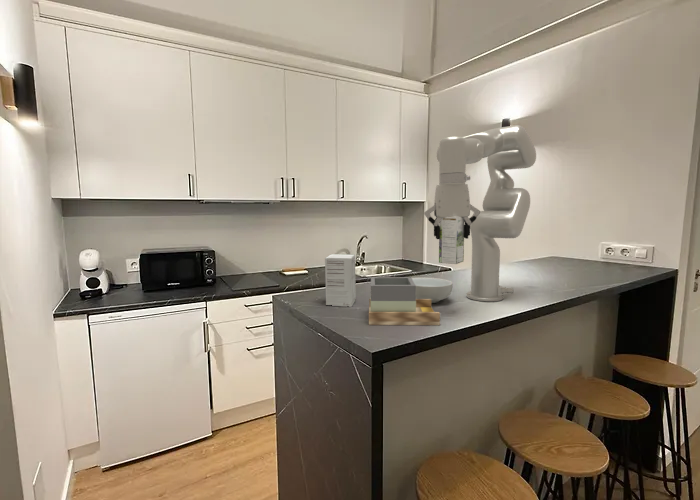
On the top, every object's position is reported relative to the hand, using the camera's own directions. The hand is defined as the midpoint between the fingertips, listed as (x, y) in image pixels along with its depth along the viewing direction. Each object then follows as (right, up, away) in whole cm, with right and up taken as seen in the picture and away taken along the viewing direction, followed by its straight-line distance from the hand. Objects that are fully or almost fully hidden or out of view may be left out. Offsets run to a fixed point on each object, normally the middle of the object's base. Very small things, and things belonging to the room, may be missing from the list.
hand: (451, 238), depth 111 cm
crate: (-18, -23, 0) cm, 29 cm away
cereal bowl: (-3, -22, +19) cm, 29 cm away
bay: (-15, -24, 0) cm, 28 cm away
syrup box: (0, -8, +1) cm, 8 cm away
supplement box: (-34, -23, +17) cm, 45 cm away
